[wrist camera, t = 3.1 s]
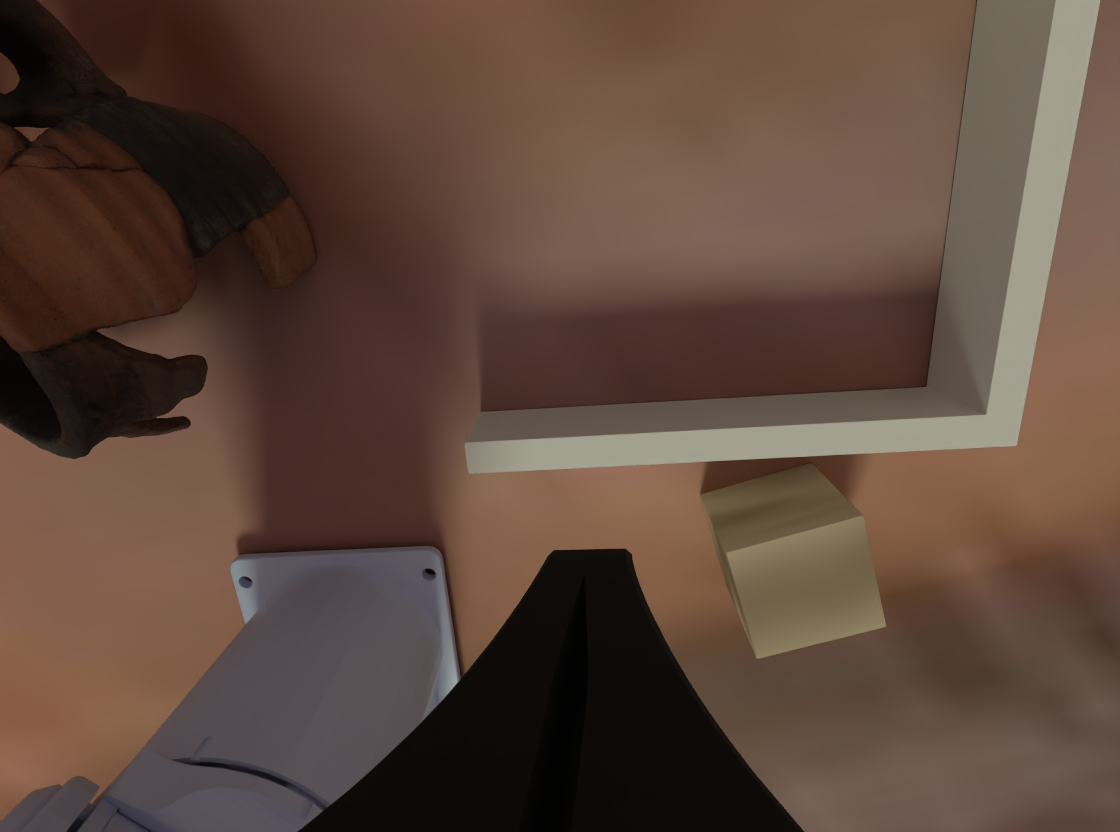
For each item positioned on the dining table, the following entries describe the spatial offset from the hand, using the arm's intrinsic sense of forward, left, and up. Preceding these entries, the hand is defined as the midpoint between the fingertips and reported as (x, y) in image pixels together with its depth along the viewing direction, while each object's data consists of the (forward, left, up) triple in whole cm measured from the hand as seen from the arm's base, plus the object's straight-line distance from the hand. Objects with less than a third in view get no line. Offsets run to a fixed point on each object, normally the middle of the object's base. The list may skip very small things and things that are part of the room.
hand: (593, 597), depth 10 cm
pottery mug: (+7, +13, -11) cm, 19 cm away
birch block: (-5, -6, -11) cm, 13 cm away
